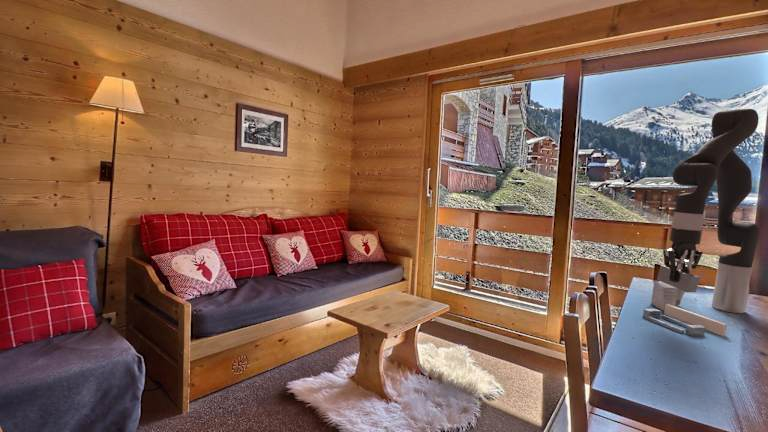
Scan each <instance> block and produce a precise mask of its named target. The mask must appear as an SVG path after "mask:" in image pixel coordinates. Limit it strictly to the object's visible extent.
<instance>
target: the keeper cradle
mask: <svg viewBox="0 0 768 432" xmlns="http://www.w3.org/2000/svg"><path fill="white" fill-rule="evenodd" d="M661 313H662V310H661V309H657V308H644V309H643V314H642V317H644V319H646V320H647V321H650V322H652V323H654V324H657V325H660V326H663V327H665V328H667V329H670V330H672V331H675V332H677V333H678V334H685V335H688V336H691V337H698V336H705V331H706V330H705V328H706V327H703V326H701V325H692V324H689V323H686V322H684V321H681V320H678V319H676V318H673V317H670V316H668V315H665V314H661ZM660 319H662V320H666V321H668V322H670V323H673V324H675V325H679V326H680V327H683V328H685V329H683V328H680V327H679V326H678V327H677V326H675V325H672V324H670V323H667V322H665V321H662V320H660Z"/></svg>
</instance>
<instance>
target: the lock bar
mask: <svg viewBox="0 0 768 432" xmlns="http://www.w3.org/2000/svg"><path fill="white" fill-rule="evenodd" d="M670 271H671V269H670V268H668V267H666V266H665V264H662V265H660V266H659V270H658V274H657V278H656V280H657V281H658V282H661V283H666V284H668V285H671V286H673V287H676V288H678V289H680V290H683V291H685V293H696V292H697V288H698V286H699V283H700V278H701V276H699V275H696V274H693V273H688V272H685V271H683V270H681V269H680V270H679V271H680V272H679V278H678V282H672V281H670V278H669V277H670Z"/></svg>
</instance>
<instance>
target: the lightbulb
mask: <svg viewBox="0 0 768 432" xmlns="http://www.w3.org/2000/svg"><path fill="white" fill-rule="evenodd" d="M675 288H676V287H675ZM677 289H678V288H677ZM685 294H686V292H685V291H683V290H680V289H678V291H677V299H676V306H680V305H681V301H682V299H683V296H684V295H685Z"/></svg>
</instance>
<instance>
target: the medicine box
mask: <svg viewBox="0 0 768 432" xmlns="http://www.w3.org/2000/svg"><path fill="white" fill-rule="evenodd" d="M677 291H678V289H677V288H675V287H673V286H671V285H668V284H666V283H664V282H661V281H658V282H657V281H656V282H653V288H652V295H651V305H653V306H654V307H656V308H658V310H660V311H664V312H665V305H666V304H669V305H672V306H675V307H677V305H676V299H677Z"/></svg>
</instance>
